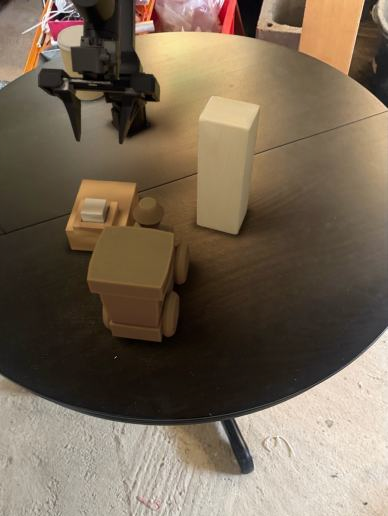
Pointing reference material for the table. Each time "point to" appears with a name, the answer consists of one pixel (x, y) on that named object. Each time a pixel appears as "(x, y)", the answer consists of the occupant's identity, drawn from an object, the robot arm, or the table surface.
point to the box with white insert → (119, 212)
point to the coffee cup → (65, 41)
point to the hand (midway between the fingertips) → (99, 142)
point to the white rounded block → (94, 210)
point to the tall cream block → (225, 162)
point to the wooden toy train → (139, 274)
